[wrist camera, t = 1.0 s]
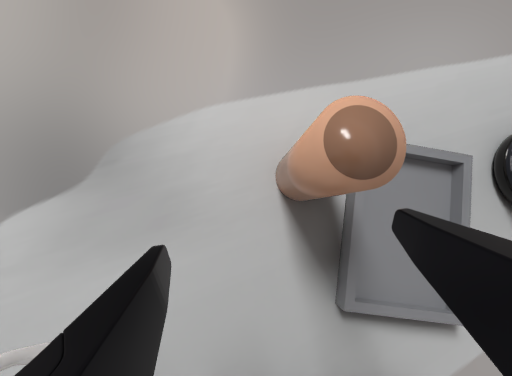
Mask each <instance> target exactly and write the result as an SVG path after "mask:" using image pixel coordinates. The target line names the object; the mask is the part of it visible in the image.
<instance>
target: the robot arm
mask: <svg viewBox="0 0 512 376" xmlns="http://www.w3.org/2000/svg"><path fill="white" fill-rule="evenodd" d="M392 231H393V233H394V235H395V236H396V238H397V239H398V241H399V242H400V244H401V245H402V247H403V248H404V250H405V251H406V253H407V254H408V256H409V257H410V259H411V260H412V262H413V263H414V265H415V266H416V267H417V269H418V270H419V271H420V272H421V274H422V275H423V276H424V277H425V279H426V280H427V281H428V282H429V284H430V285H431V286H432V287H433V289H434V290H435V291H436V292H437V294H438V295H439V296H440V297H441V299H442V300H443V301H444V302H445V304H446V305H447V306H448V307H449V309H450V310H451V311H452V312H453V314H454V315H455V316H456V317H457V319H458V320H459V321H460V322H461V323H462V325H463V326H464V327H465V328H466V330H467V331H468V332H469V333H470V335H471V336H472V337H473V338H474V340H475V341H476V342H477V343H478V345H479V346H480V347H481V348H482V350H483V351H484V352H485V353H486V355H487V356H488V357H489V358H490V360H491V361H492V362H493V363H494V365H495V366H496V367H497V368H498V370H499V371H500V372H501V373H502V375H503V376H512V241H511V240H508V239H504V238H501V237H498V236H495V235H492V234H489V233H485V232H482V231H479V230H476V229H473V228H469V227H466V226H463V225H460V224H457V223H454V222H450V221H447V220H444V219H441V218H438V217H435V216H431V215H428V214H425V213H422V212H419V211H415V210H412V209H409V208H403V209H398V210H396V211H395V214H394V218H393V222H392ZM170 276H171V261H170V258H169V255H168V252H167V249H166V247H165V245H158V246H153V247H151V248H150V249H149V250H148V251H147V252H146V253H145V254H144V255H143V256H142V257H141V258H140V259H139V260H138V261H136V262H135V263H134V264H133V265H132V266H131V267H130V268H129V269H128V270H127V271H126V272H125V273H124V274H123V275H122V276H121V277H120V278H119V279H117V280H116V281H115V282H114V283H113V284H112V285H111V286H110V287H109V288H108V289H107V290H106V291H105V292H104V293H103V294H102V295H101V296H100V297H98V298H97V299H96V300H95V301H94V302H93V303H92V304H91V305H90V306H89V307H88V308H87V309H86V310H85V311H84V312H83V313H82V314H81V315H79V316H78V317H77V318H76V319H75V320H74V321H73V322H72V323H71V324H70V325H69V326H68V327H67V328H66V329H65V330H64V331H63V333H60V334H59V335H58V336H57V337H56V338H55V339H54V340H53V341H52V342H51V343H50V344H49V345H48V346H47V347H46V348H44V349H43V350H42V351H41V352H40V353H39V354H38V355H37V356H36V357H35V358H34V359H32V360H31V361H30V362H29V363H28V364H27V365H26V366H25V367H24V368H23V369H21V370H20V371H19V372H18V373H17V374H16V375H15V376H153V375H154V370H155V366H156V361H157V356H158V351H159V347H160V342H161V337H162V332H163V327H164V323H165V318H166V313H167V307H168V297H169V287H170Z"/></svg>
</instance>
